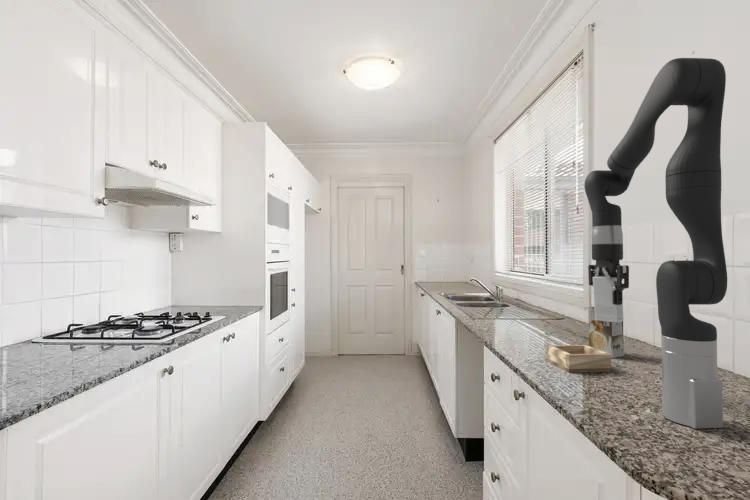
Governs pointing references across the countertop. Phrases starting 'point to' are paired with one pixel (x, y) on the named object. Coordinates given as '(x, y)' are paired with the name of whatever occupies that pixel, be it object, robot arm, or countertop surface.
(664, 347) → the robot arm
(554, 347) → the light wooden tray
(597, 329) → the coffee box
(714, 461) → the countertop surface
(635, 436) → the countertop surface
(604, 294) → the skincare box
